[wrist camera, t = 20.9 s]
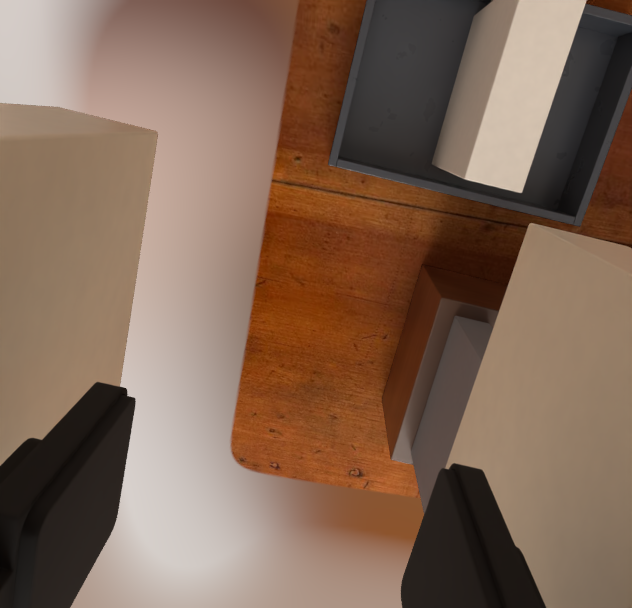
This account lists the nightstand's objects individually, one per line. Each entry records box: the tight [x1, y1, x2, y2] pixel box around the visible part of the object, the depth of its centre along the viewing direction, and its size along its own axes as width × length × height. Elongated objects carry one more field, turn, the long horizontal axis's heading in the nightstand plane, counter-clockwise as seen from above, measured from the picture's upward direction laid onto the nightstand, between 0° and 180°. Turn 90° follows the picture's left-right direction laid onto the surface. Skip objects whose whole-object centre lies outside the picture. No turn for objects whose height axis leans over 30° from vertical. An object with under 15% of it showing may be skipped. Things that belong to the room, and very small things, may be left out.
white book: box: [432, 0, 587, 193], centre depth 39 cm, size 4×11×13 cm, turn 167°
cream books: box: [0, 103, 632, 608], centre depth 13 cm, size 17×11×12 cm, turn 77°
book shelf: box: [382, 265, 508, 465], centre depth 47 cm, size 20×13×10 cm, turn 77°
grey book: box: [411, 316, 493, 514], centre depth 37 cm, size 2×11×12 cm, turn 167°
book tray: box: [328, 0, 632, 226], centre depth 44 cm, size 19×14×5 cm
